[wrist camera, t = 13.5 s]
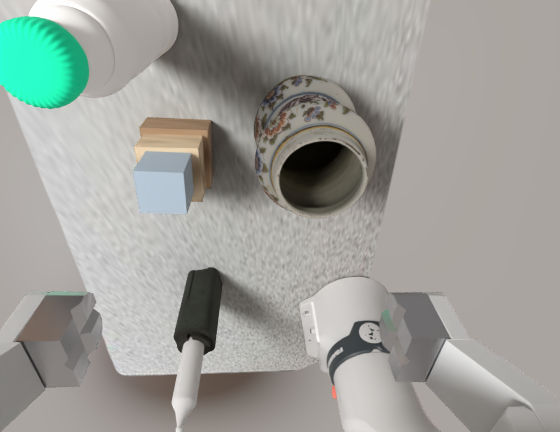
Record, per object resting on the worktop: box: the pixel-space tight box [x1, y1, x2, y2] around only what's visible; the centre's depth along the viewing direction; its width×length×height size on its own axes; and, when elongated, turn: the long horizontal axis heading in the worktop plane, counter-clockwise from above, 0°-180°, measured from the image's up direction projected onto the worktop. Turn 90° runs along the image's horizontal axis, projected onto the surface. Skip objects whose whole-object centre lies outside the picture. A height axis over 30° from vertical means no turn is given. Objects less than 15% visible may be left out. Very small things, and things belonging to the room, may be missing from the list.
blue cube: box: [133, 151, 194, 214], centre depth 40 cm, size 5×5×5 cm
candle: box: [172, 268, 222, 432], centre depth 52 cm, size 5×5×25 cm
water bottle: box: [0, 0, 179, 109], centre depth 30 cm, size 7×7×25 cm
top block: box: [134, 134, 206, 202], centre depth 44 cm, size 7×7×4 cm
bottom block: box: [139, 117, 213, 188], centre depth 47 cm, size 8×8×4 cm
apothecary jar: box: [254, 76, 376, 219], centre depth 40 cm, size 12×12×18 cm
